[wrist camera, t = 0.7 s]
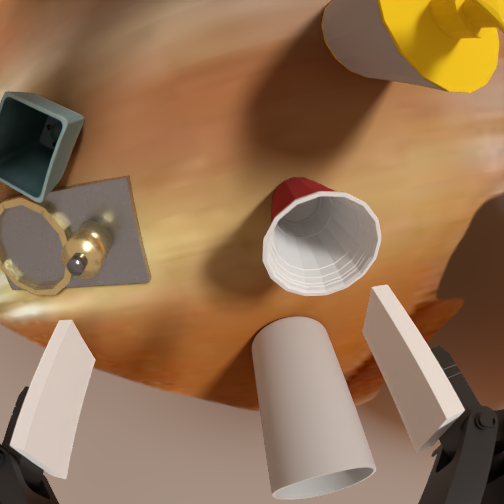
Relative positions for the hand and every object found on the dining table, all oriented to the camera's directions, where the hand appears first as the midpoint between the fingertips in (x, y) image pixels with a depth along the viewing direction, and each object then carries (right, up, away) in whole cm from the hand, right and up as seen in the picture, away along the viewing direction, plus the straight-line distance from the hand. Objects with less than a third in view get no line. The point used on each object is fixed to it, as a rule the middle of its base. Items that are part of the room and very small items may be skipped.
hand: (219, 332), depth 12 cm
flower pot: (-21, +18, +16) cm, 31 cm away
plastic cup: (+6, +9, +24) cm, 26 cm away
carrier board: (-25, +5, +22) cm, 34 cm away
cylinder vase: (+7, -11, +36) cm, 38 cm away
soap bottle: (+15, +28, +13) cm, 35 cm away
